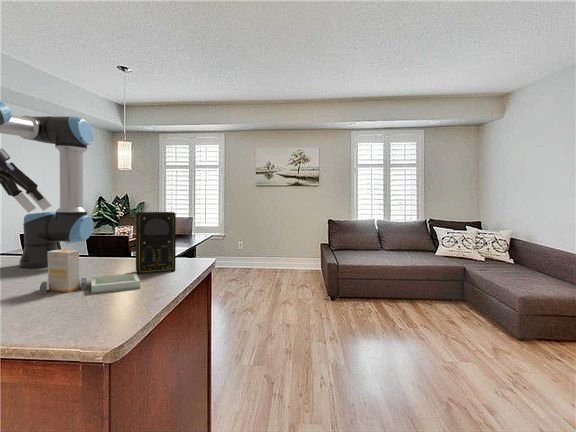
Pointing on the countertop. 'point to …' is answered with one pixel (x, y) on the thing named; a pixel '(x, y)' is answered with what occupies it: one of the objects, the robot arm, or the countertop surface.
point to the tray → (114, 283)
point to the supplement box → (63, 270)
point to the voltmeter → (155, 242)
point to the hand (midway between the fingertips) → (39, 209)
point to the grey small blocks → (45, 286)
